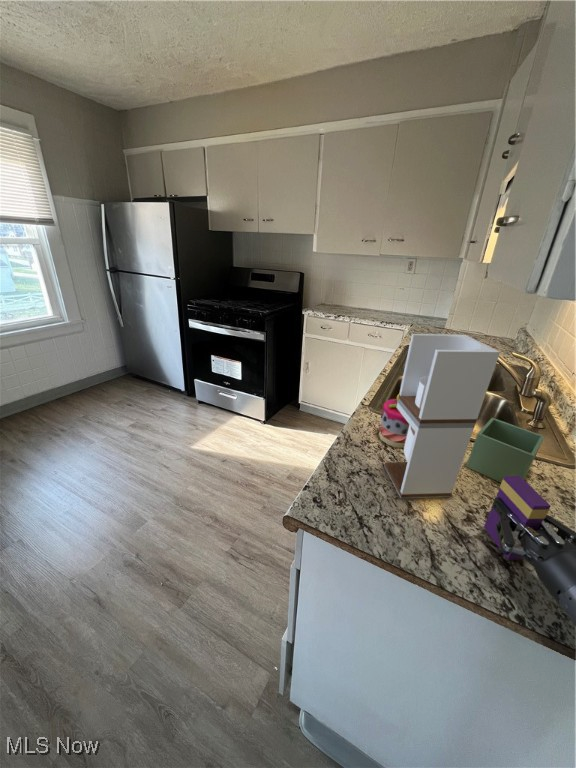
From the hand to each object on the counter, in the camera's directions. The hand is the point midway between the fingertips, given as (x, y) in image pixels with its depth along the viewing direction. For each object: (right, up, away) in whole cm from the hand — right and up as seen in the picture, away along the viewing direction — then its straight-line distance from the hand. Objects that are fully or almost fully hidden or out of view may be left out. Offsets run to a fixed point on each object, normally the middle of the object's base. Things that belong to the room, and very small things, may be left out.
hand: (504, 500), depth 58 cm
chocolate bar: (0, -8, +1) cm, 8 cm away
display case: (-10, -2, +16) cm, 19 cm away
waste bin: (+13, 0, +21) cm, 25 cm away
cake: (-9, +5, +32) cm, 34 cm away
